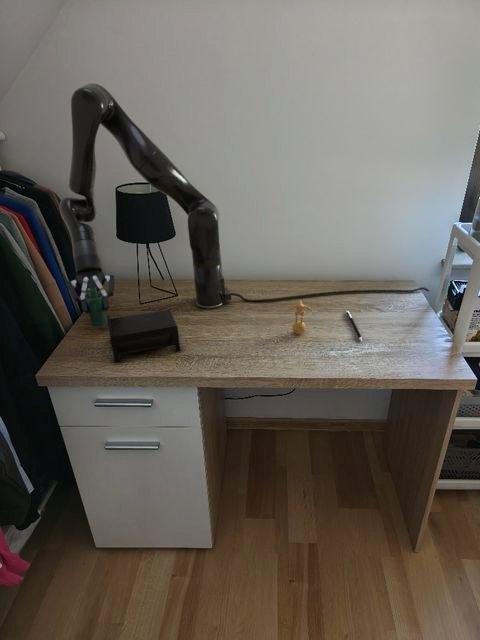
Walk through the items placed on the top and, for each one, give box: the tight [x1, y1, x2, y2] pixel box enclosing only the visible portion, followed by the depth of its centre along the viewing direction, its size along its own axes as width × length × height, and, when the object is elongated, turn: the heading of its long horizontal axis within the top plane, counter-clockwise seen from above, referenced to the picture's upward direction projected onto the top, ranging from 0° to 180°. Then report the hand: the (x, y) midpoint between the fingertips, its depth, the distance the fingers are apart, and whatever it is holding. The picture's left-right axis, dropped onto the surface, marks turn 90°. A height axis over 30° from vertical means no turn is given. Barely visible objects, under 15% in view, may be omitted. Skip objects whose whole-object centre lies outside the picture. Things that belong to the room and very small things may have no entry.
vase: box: [85, 287, 108, 328], centre depth 143 cm, size 5×5×12 cm
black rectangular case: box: [107, 309, 181, 363], centre depth 137 cm, size 18×13×8 cm
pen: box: [346, 310, 363, 342], centre depth 146 cm, size 1×19×1 cm, turn 4°
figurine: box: [284, 299, 315, 335], centre depth 140 cm, size 8×6×12 cm
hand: (96, 311), depth 142 cm, fingers closed on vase, 5 cm apart
